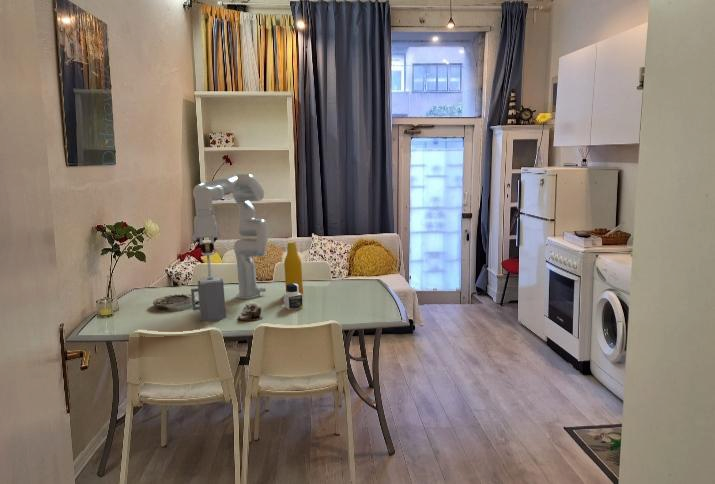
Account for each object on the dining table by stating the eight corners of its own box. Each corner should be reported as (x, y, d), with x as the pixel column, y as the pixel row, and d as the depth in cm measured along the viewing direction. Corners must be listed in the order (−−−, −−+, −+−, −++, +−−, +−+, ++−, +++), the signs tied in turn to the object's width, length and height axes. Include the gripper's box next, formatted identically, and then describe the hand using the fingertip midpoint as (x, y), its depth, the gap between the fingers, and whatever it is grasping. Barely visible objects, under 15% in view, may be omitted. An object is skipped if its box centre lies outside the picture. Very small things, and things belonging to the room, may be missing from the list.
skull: (242, 321, 252) (236, 302, 257) (239, 331, 260) (234, 312, 265) (267, 316, 257) (261, 297, 262) (264, 326, 265) (258, 307, 270)
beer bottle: (298, 297, 293) (295, 244, 288) (283, 296, 296) (279, 243, 291) (306, 293, 302) (303, 241, 297) (290, 292, 305) (287, 240, 300)
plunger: (219, 288, 266) (215, 241, 262) (220, 292, 258) (216, 243, 254) (201, 290, 264) (197, 242, 260) (202, 294, 256) (197, 245, 252)
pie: (166, 317, 268) (165, 308, 267) (135, 310, 284) (134, 300, 283) (213, 303, 289) (212, 294, 289) (182, 297, 306) (181, 288, 305)
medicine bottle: (289, 310, 270) (288, 286, 268) (284, 307, 276) (282, 283, 274) (303, 308, 273) (301, 284, 271) (297, 304, 280) (296, 281, 278)
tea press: (225, 313, 270) (221, 275, 267) (226, 319, 259) (223, 280, 256) (193, 316, 266) (190, 278, 263) (193, 323, 255) (190, 283, 252)
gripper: (222, 211, 260) (225, 249, 263) (185, 213, 256) (189, 252, 259) (223, 212, 253) (226, 251, 256) (185, 215, 249) (189, 255, 252)
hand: (207, 251), depth 258 cm, fingers closed on plunger, 3 cm apart
